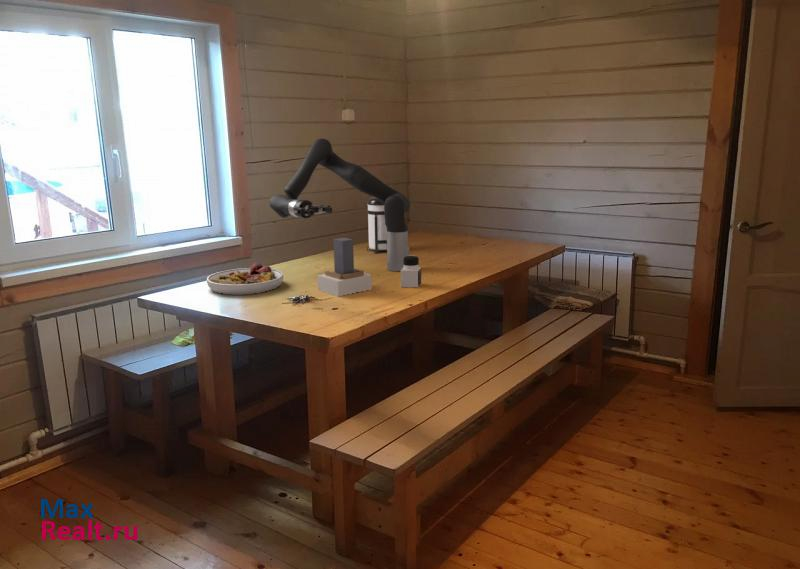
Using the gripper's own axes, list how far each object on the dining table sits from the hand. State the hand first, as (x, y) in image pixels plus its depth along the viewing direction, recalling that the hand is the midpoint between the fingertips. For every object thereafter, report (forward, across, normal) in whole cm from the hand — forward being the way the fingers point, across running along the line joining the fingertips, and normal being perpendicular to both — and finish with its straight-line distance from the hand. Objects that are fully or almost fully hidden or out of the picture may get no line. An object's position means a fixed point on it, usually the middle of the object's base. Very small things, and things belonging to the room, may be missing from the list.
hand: (322, 211), depth 268 cm
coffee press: (-39, +60, +30) cm, 78 cm away
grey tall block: (+14, 0, +24) cm, 27 cm away
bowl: (-18, -27, +30) cm, 44 cm away
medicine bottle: (+26, +23, +31) cm, 46 cm away
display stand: (+13, 0, +30) cm, 33 cm away
